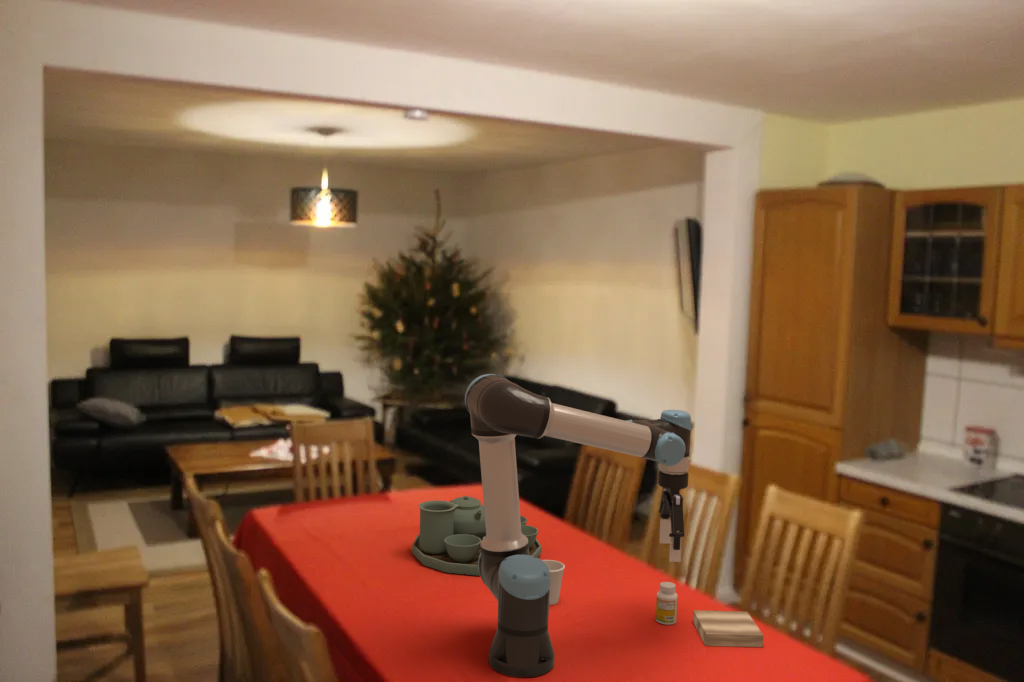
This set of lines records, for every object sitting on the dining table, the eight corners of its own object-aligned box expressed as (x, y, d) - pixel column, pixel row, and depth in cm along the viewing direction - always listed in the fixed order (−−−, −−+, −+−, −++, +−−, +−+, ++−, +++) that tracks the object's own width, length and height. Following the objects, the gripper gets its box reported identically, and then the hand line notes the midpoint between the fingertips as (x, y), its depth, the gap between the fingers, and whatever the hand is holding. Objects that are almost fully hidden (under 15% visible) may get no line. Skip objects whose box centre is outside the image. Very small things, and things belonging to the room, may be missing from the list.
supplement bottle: (661, 614, 229) (663, 579, 228) (680, 620, 226) (682, 584, 225) (651, 620, 225) (653, 584, 224) (669, 627, 222) (671, 590, 221)
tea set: (487, 588, 244) (489, 531, 242) (386, 555, 268) (387, 502, 266) (565, 552, 276) (567, 501, 274) (468, 525, 299) (470, 478, 298)
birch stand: (762, 647, 212) (763, 635, 212) (705, 645, 212) (706, 633, 211) (746, 622, 226) (747, 611, 225) (692, 621, 226) (693, 610, 225)
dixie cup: (537, 608, 231) (539, 571, 230) (528, 595, 239) (530, 560, 238) (567, 605, 233) (569, 569, 232) (557, 593, 241) (559, 558, 240)
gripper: (699, 484, 209) (695, 569, 211) (678, 459, 234) (674, 536, 236) (668, 483, 209) (664, 569, 211) (650, 458, 234) (647, 535, 236)
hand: (669, 552), depth 224 cm, fingers open, 13 cm apart
